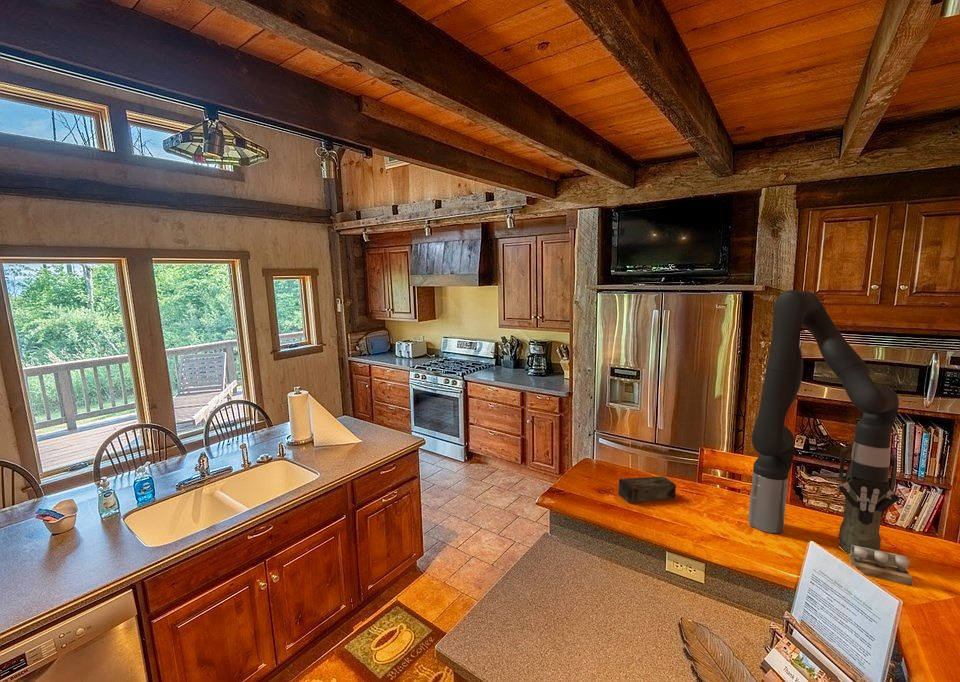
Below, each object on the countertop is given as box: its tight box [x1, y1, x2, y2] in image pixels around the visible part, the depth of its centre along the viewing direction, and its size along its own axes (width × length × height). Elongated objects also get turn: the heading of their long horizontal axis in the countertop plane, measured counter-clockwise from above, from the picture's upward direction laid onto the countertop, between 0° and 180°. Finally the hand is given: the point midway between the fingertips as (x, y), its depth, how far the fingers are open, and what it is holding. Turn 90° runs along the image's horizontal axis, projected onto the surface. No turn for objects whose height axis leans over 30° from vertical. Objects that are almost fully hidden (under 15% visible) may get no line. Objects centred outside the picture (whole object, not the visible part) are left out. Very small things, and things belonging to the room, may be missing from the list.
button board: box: [848, 545, 914, 587], centre depth 115 cm, size 11×6×5 cm, turn 62°
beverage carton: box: [617, 476, 677, 504], centre depth 158 cm, size 8×19×7 cm, turn 101°
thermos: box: [838, 435, 898, 555], centre depth 123 cm, size 9×12×35 cm
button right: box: [895, 554, 911, 573], centre depth 113 cm, size 3×3×4 cm
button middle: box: [874, 550, 888, 568], centre depth 115 cm, size 3×3×4 cm
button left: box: [854, 546, 867, 563], centre depth 117 cm, size 3×3×4 cm
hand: (864, 523), depth 116 cm, fingers closed
